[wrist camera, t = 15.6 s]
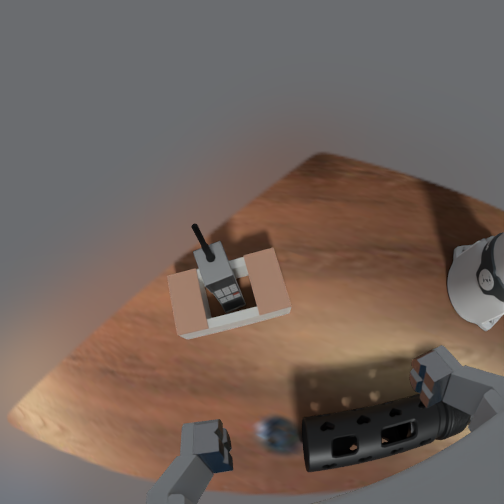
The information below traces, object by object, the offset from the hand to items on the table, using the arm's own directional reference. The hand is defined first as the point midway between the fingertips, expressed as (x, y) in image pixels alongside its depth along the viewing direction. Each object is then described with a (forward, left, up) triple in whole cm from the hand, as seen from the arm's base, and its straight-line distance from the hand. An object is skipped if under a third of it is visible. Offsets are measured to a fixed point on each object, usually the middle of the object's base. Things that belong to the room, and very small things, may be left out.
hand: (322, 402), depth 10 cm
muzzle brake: (-14, +13, -38) cm, 43 cm away
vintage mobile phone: (+5, -16, -38) cm, 41 cm away
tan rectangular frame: (+5, -16, -38) cm, 41 cm away
